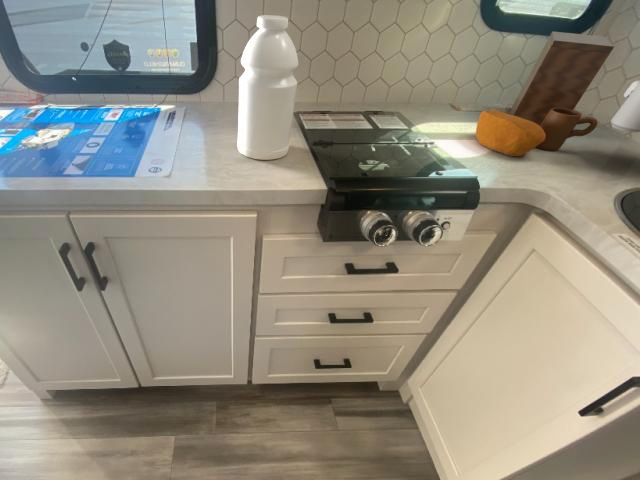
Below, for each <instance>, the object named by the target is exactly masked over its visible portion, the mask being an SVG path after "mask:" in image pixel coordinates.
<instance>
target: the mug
mask: <svg viewBox="0 0 640 480" xmlns="http://www.w3.org/2000/svg"><path fill="white" fill-rule="evenodd" d="M583 124H589V125H588V126H587V127H586V128H584V129H575V128H576V126H578V125H583ZM540 127H541V128H542V129H543V130H544V132H545V135H546V137H545V140H544V141H543V142H542V143H541V144H539V145H537V146H536V147H535V148H537V149H540V150H543V151H544V150H545V151H551V152H553V151H558V150H560V149H561V148H562V146H563V145H564V144H565V143H566V141H567V139H570V138H573V137H584V136H586V135H589V134H591V133H592V132H593V131H594V130H595V129H596V128H597V127H598V119H597V118H596V117H593V116H584V117H583V113H581V112H579V111H577V110H570V109H565V108H552V109H551V110H550V111H549V113H548V114H547V116H546V117H545V119H544V120H543V122H542V124H541V125H540Z"/></svg>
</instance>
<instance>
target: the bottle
mask: <svg viewBox="0 0 640 480" xmlns="http://www.w3.org/2000/svg"><path fill="white" fill-rule="evenodd" d="M256 27H257V28H259V29H258V30H257V31H256V32H255V33H254V34H252V36H251V37H250V38H249V40H248V42H247V43H246V46H245V47H244V49H243V52H242V55H241V58H240V64H241V65H242V67H243V68H244V72H242V74H241V76H240V77H238V117H237V118H238V121H237V123H238V124H237V125H238V126H237V130H238V131H237V143H236V144H237V151H238V152H239V153H240V154H241V155H242V156H244V157H247V158H251V159H254V160H261V161H262V160H263V161H268V160H269V161H270V160H271V161H272V160H277V159H280V158H283V157H285V156H286V155H287V154H288V153H289V150H290V146H291V145H290V140H291V134H292V128H293V127H292V126H293V118H294V111H295V103H296V96H297V89H298V81H297V79H296V78H295V76H294V71H295V70H296V69H297V68H298V67H299V58H298V52H297V49H296V47H295V45H294V42H293V39H292V38H291V37H290V35H289V34H288V33H287V31H286V29H288V28H289V18H288V17H287V16H282V15H271V14H270V15H269V14H265V15H264V14H263V15H259V16H257V19H256Z"/></svg>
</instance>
